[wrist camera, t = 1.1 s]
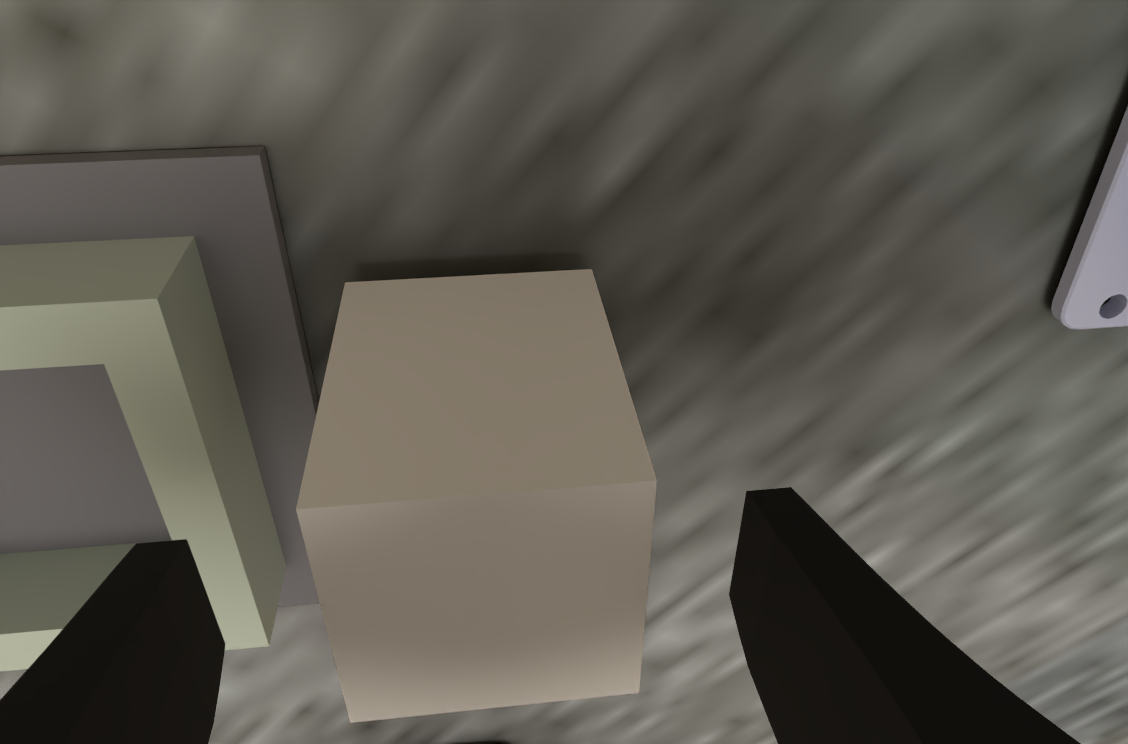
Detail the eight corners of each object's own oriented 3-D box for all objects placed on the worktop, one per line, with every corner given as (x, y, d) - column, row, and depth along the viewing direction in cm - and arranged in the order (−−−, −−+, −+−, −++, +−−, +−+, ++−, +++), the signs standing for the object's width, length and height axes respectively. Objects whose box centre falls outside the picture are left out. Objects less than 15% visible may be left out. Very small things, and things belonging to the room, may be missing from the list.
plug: (585, 247, 14) (657, 481, 9) (581, 428, 17) (639, 693, 12) (349, 259, 14) (295, 508, 9) (380, 443, 16) (350, 722, 11)
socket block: (263, 145, 13) (230, 209, 11) (357, 585, 18) (346, 680, 16) (-460, 174, 12) (-642, 248, 10) (-125, 628, 17) (-198, 733, 15)
